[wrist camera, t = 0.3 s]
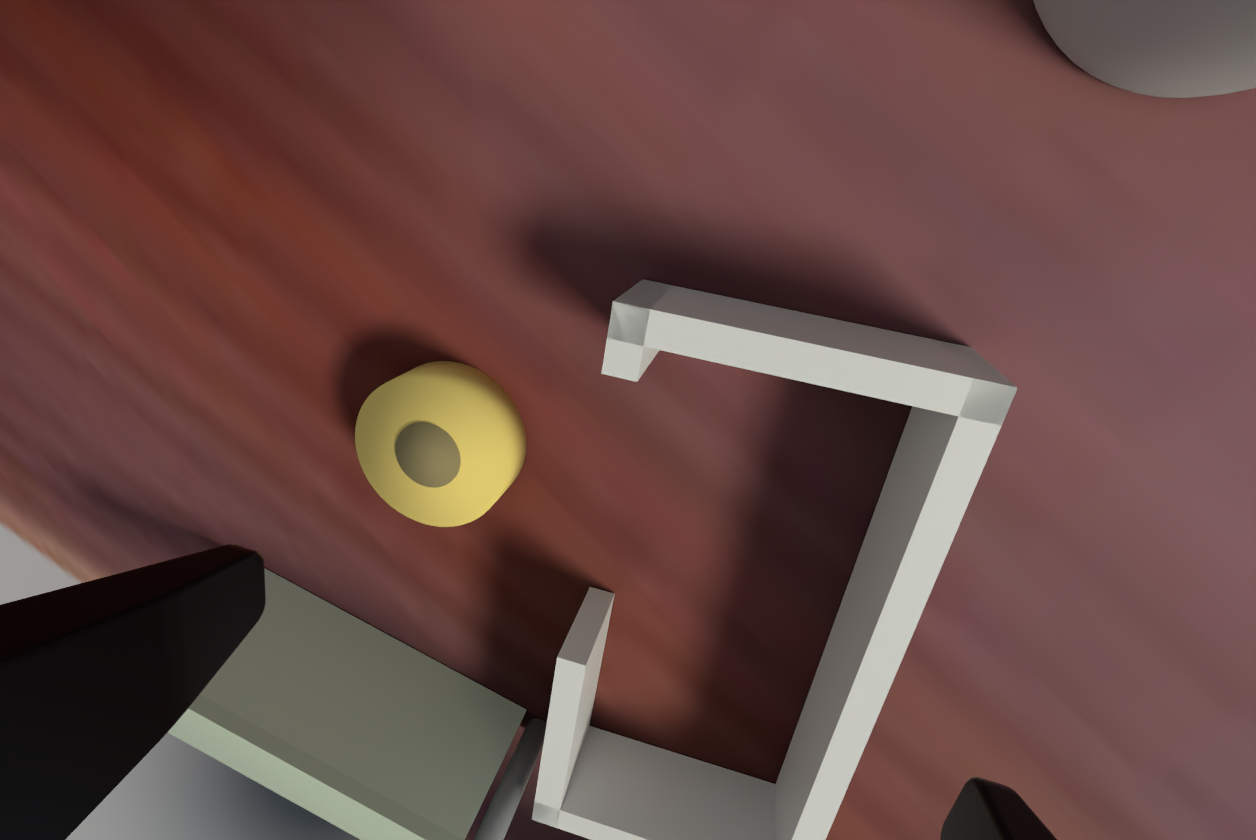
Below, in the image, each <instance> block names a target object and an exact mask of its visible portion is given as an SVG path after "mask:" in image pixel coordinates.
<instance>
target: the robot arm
mask: <svg viewBox="0 0 1256 840" xmlns="http://www.w3.org/2000/svg"><path fill="white" fill-rule="evenodd" d="M265 604H266V592H265V569H264V559H263V558H262V556H261V554H260V553H258V552H256V551H254V550H250V549H247V548H244V547H241V546H238V545H225V546H221V547H217V548H213V549H209V550H206V551H202V552H198V553H194V554H191V555H187V556H183V557H179V558H176V559H172V560H168V561H164V562H160V563H157V564H153V565H149V566H145V567H142V568H138V569H134V570H130V571H127V572H123V573H119V574H115V575H111V576H108V577H104V578H100V579H96V580H93V581H89V582H85V583H81V584H77V585H74V586H70V587H66V588H63V589H59V590H55V591H52V592H47V593H44V594H40V595H36V596H32V597H28V598H25V599H21V600H17V601H13V602H10V603H6V604H2V605H0V840H65V839H66V838H67V837H68V836H69V835H70V834H71V833H72V832H73V831H74V830H75V829H76V828H77V827H78V826H79V824H81V822H82V821H83V820H84V819H85V818H86V817H87V816H88V815H89V814H90V813H91V812H92V811H93V810H94V809H95V808H96V807H97V806H98V805H99V804H100V803H101V802H102V801H103V799H104V798H105V797H106V796H107V795H108V794H109V793H110V792H111V791H112V790H113V789H114V788H115V787H116V786H117V785H118V784H119V783H120V782H121V781H122V780H123V779H124V777H125V776H126V775H127V774H128V773H129V772H130V771H131V770H132V769H133V768H134V767H135V766H136V765H137V764H138V763H139V762H140V761H141V760H142V758H143V757H145V756H146V754H147V753H148V752H149V751H150V750H151V749H152V748H153V747H154V746H155V745H156V744H157V743H158V742H159V741H160V740H161V739H162V737H164V735H165V734H166V733H167V732H168V731H169V730H170V729H171V728H172V727H173V726H174V725H175V723H176V722H177V721H178V720H179V719H180V718H181V716H182V715H183V714H184V713H185V712H186V711H187V709H188V708H189V707H190V706H191V705H192V703H193V702H194V701H195V700H196V698H197V697H198V696H199V695H200V693H201V692H202V691H203V690H204V688H205V687H206V686H207V685H208V683H209V682H210V681H211V680H212V678H213V677H214V676H215V675H216V673H217V672H218V671H219V670H220V668H221V667H222V666H223V665H224V663H225V662H226V661H227V660H228V659H229V657H230V656H231V655H232V654H233V652H234V651H235V650H236V649H237V647H238V646H239V645H240V644H241V642H242V641H243V640H244V639H245V637H246V636H247V635H248V634H249V632H250V631H251V630H252V629H253V627H254V626H255V625H256V624H257V622H258V621H259V619H260V618H261V616H262V614H263V611H264V608H265ZM941 840H1057V839H1056V838H1055V837H1054V835H1053V834H1052V833H1051V832H1050V831H1049V830H1048V829H1047V827H1046V826H1045V825H1044V824H1043V823H1042V822H1041V820H1040V819H1039V818H1038V817H1037V816H1036V815H1035V813H1034V812H1033V811H1032V810H1031V809H1030V808H1029V806H1028V805H1027V804H1026V803H1025V802H1024V801H1023V799H1022V798H1021V797H1020V796H1019V795H1018V794H1017V793H1016V792H1015V791H1014V790H1013V789H1011V788H1009V787H1007V786H1005V785H1002V784H999V783H995V782H992V781H989V780H986V779H983V778H979V777H973V778H971V779H969V780H968V781H967V782H966V784H965V785H964V787H963V789H962V791H961V792H960V794H959V796H958V798H957V800H956V801H955V803H954V805H953V807H952V809H951V811H950V812H949V814H948V816H947V818H946V820H945V822H944V824H943V827H942V831H941Z"/></svg>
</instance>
